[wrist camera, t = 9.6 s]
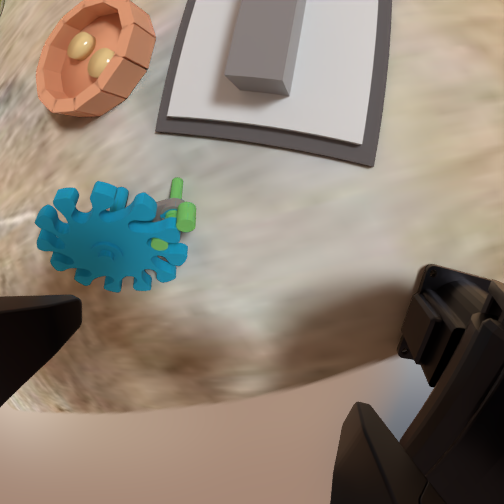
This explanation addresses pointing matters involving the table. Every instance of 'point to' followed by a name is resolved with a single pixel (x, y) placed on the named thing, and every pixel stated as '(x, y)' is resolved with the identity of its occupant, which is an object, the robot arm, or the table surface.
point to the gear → (117, 235)
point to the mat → (283, 137)
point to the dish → (94, 57)
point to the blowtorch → (1, 5)
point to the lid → (279, 65)
